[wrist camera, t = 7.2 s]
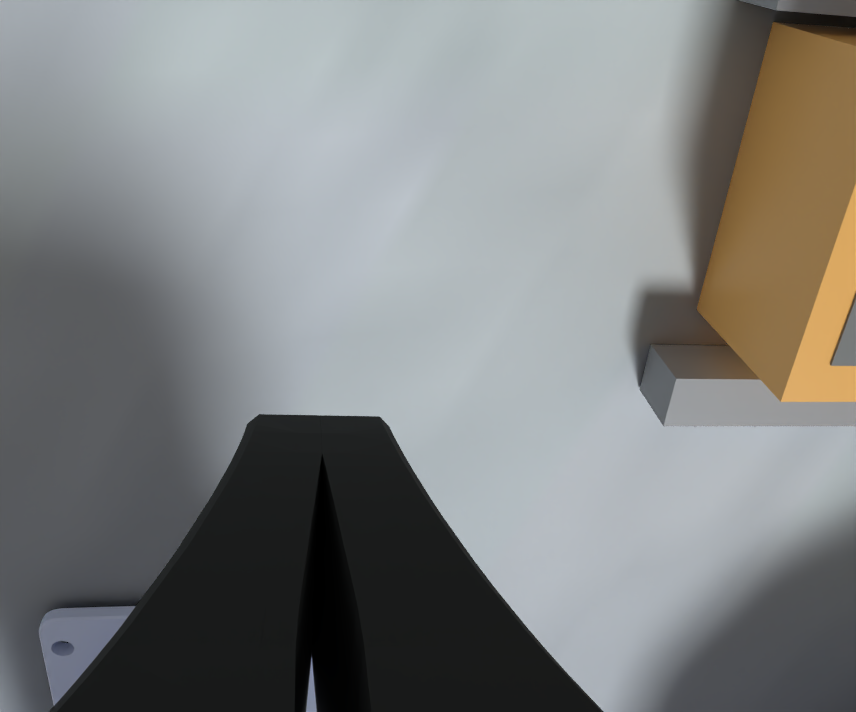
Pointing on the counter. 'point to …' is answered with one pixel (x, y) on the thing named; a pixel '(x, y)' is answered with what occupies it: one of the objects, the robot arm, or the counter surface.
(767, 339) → the orange square frame
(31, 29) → the counter surface
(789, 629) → the counter surface
